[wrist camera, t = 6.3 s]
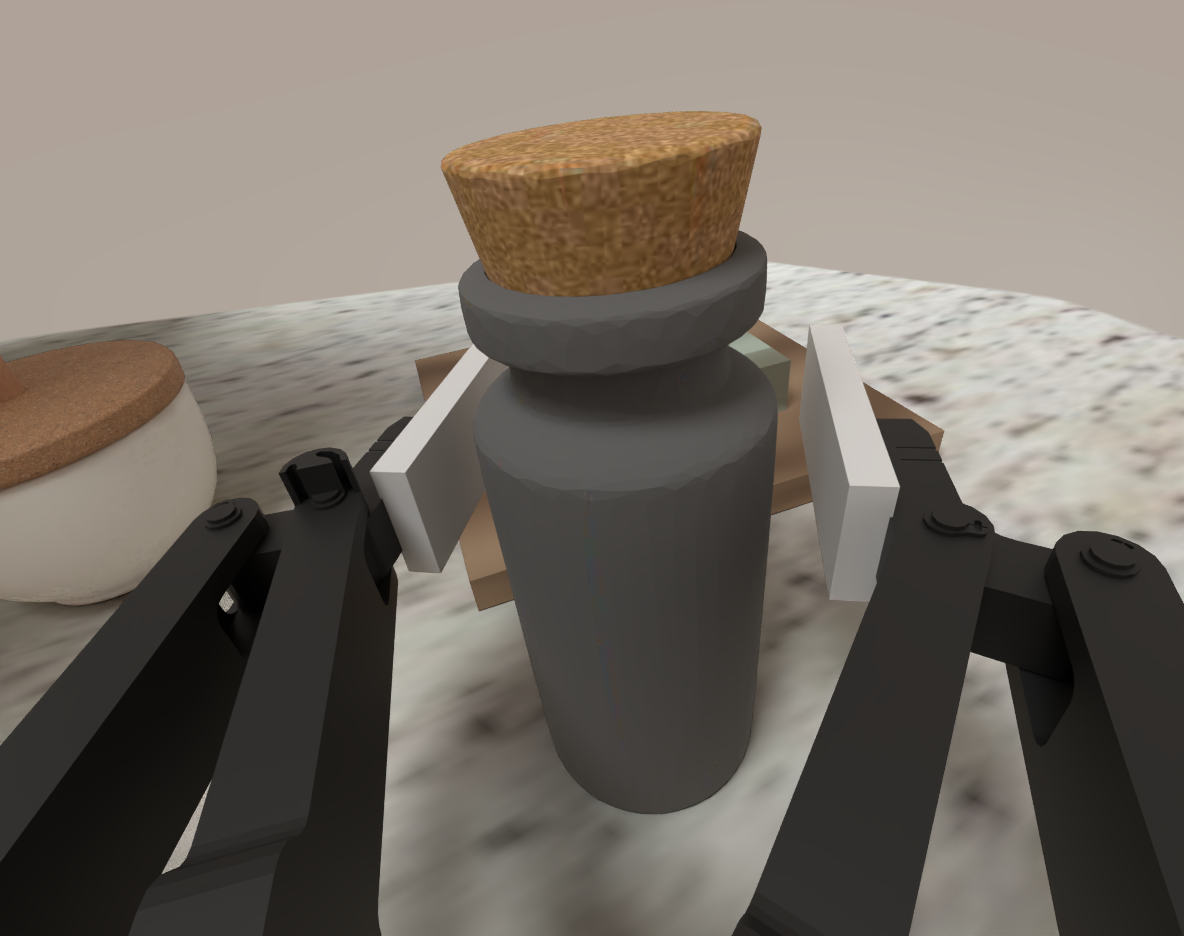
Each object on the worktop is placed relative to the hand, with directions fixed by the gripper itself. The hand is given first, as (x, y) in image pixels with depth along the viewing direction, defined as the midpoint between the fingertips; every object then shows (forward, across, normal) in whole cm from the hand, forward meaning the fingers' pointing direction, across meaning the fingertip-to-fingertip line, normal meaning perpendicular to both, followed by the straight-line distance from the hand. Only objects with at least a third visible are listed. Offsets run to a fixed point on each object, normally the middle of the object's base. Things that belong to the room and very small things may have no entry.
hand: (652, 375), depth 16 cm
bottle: (-5, 0, -9) cm, 10 cm away
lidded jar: (0, -24, -9) cm, 25 cm away
